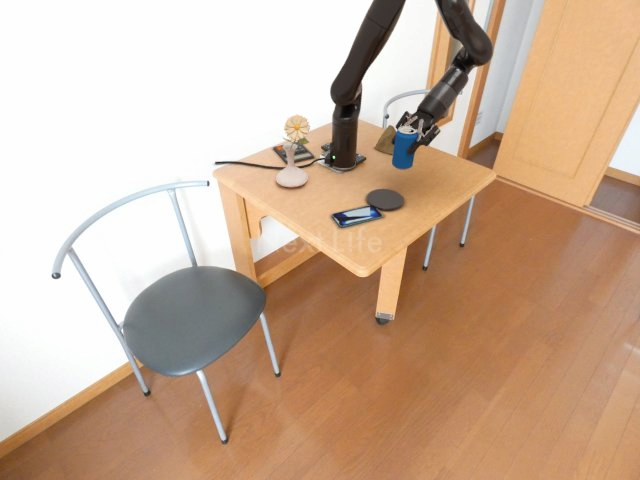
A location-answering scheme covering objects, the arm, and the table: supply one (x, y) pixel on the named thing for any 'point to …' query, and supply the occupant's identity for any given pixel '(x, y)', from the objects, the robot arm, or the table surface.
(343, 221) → the smartphone
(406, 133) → the beverage can
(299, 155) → the calculator
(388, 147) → the rock
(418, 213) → the table surface
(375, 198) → the metal coaster
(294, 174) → the flower in vase
